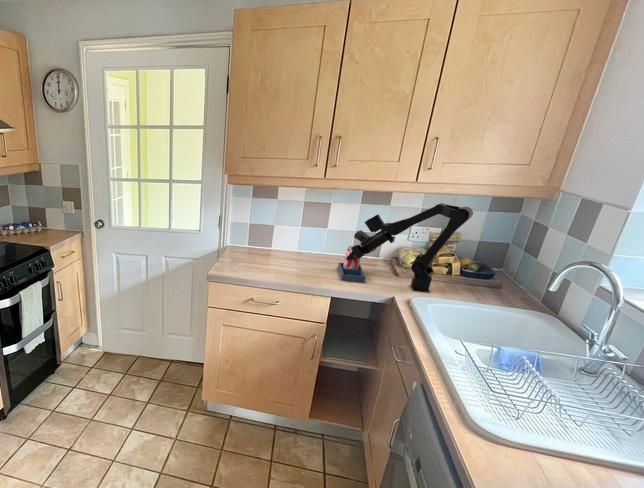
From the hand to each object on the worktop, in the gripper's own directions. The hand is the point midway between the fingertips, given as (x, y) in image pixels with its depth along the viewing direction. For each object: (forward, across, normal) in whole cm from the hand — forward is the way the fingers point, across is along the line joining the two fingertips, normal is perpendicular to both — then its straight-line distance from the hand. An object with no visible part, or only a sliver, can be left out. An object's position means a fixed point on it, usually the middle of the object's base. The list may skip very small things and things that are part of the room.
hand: (349, 257), depth 207 cm
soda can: (+4, 0, +6) cm, 7 cm away
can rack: (+3, +4, +8) cm, 9 cm away
